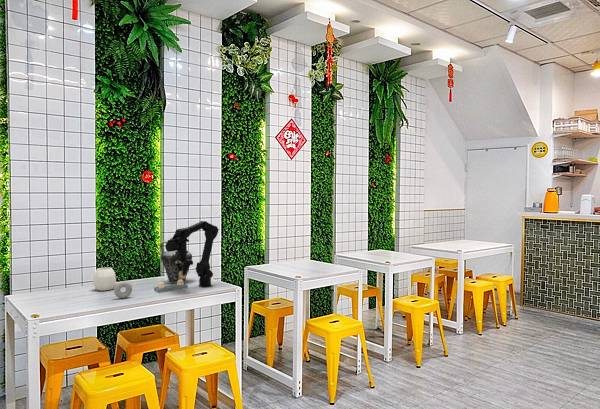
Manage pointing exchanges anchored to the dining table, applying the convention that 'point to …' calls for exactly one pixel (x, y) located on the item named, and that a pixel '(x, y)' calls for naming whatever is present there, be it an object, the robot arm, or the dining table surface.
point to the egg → (181, 275)
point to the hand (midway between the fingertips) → (182, 275)
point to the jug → (171, 264)
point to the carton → (170, 286)
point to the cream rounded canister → (104, 279)
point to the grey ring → (120, 285)
